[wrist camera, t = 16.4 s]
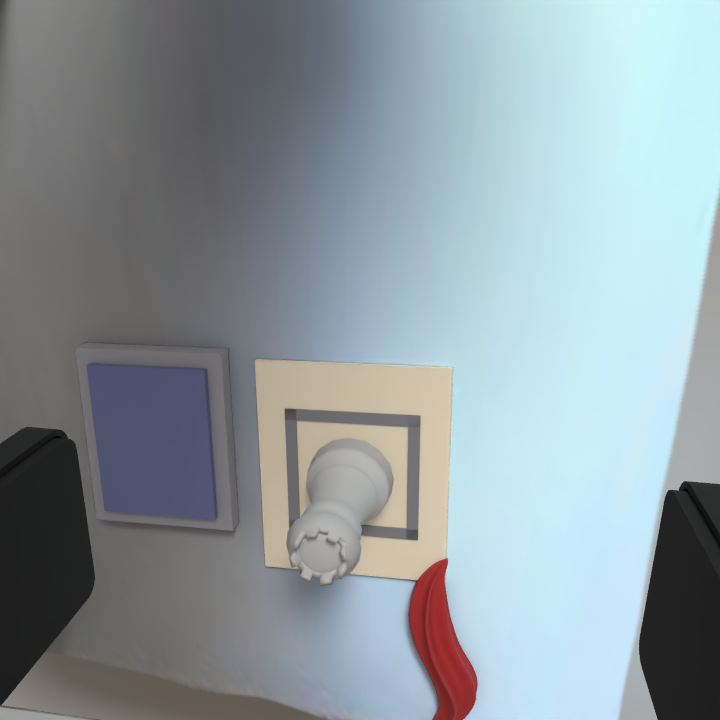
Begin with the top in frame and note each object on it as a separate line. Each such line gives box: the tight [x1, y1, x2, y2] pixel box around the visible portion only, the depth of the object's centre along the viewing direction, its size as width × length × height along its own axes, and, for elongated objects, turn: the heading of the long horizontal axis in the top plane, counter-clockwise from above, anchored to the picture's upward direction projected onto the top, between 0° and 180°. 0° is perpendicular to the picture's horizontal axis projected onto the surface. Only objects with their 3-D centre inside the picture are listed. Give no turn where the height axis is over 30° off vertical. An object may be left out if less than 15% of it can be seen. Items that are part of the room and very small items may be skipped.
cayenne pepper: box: [409, 558, 477, 720], centre depth 37 cm, size 12×5×2 cm, turn 172°
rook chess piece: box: [286, 438, 394, 586], centre depth 32 cm, size 4×4×8 cm
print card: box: [255, 359, 453, 580], centre depth 36 cm, size 12×10×1 cm
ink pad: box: [75, 343, 239, 531], centre depth 36 cm, size 10×8×1 cm
